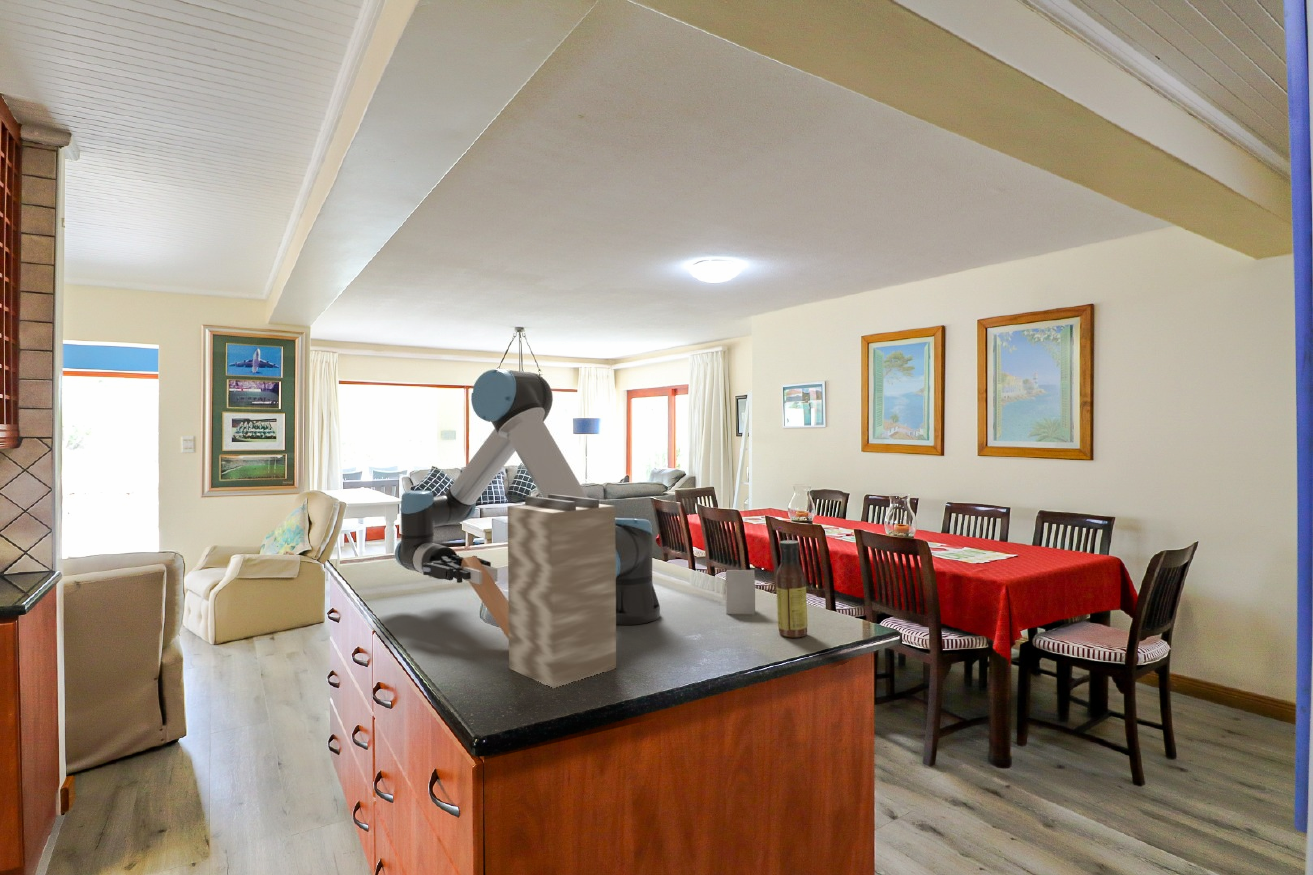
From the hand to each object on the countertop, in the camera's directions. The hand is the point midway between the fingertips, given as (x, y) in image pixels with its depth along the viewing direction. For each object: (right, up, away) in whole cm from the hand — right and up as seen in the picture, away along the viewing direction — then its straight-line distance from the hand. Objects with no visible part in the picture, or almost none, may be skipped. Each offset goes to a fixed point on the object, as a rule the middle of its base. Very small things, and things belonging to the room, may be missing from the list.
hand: (488, 576), depth 147 cm
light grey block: (+56, -13, +19) cm, 60 cm away
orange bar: (+1, -6, -1) cm, 6 cm away
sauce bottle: (+64, -13, +1) cm, 66 cm away
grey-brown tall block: (+18, -13, -18) cm, 29 cm away
